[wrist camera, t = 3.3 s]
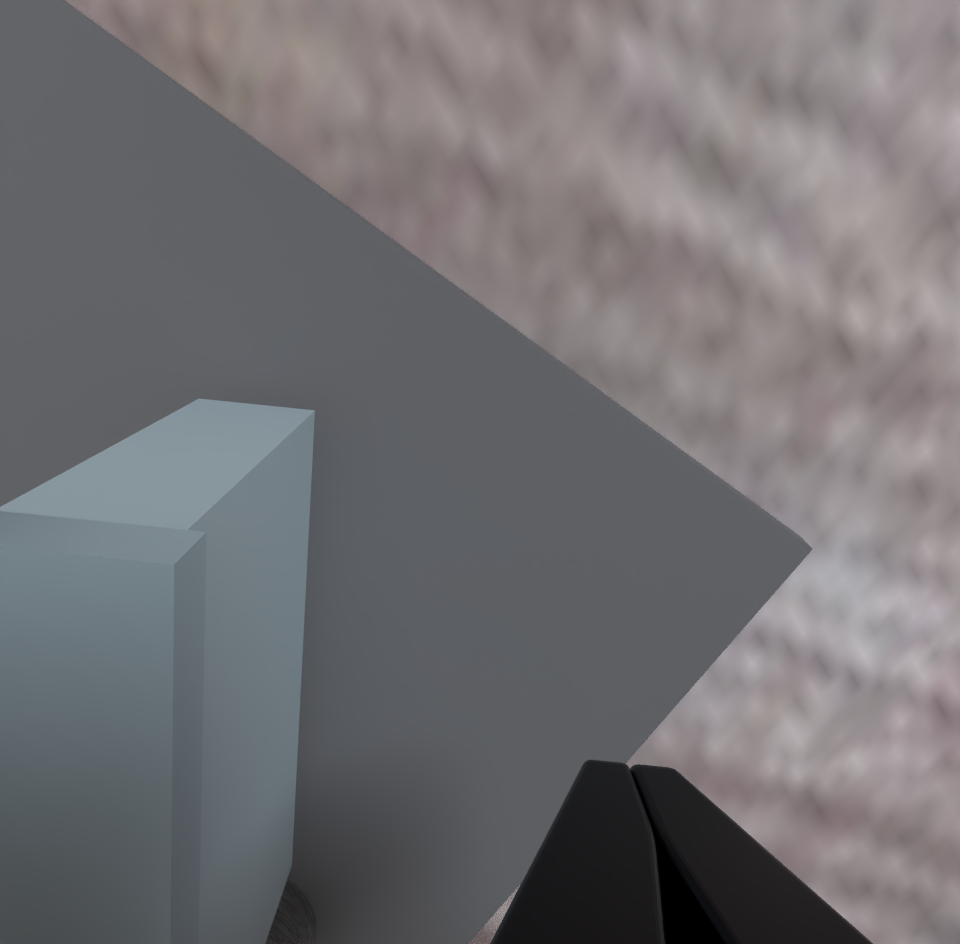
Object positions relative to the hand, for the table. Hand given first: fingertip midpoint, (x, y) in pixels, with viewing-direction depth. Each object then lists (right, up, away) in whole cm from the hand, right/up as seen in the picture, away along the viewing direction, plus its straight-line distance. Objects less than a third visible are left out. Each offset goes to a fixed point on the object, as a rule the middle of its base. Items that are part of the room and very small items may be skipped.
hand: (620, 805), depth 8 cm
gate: (-4, +1, +4) cm, 6 cm away
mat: (-5, +1, +5) cm, 7 cm away
